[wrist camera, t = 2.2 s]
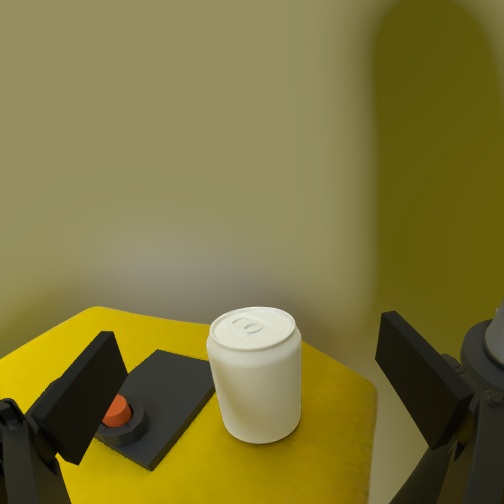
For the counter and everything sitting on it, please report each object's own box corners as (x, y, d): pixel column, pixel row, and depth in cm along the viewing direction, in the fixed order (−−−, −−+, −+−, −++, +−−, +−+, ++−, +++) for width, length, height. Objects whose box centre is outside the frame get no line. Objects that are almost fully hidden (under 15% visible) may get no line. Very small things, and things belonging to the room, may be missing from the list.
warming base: (159, 355, 38) (154, 339, 38) (229, 371, 34) (226, 353, 33) (76, 426, 22) (65, 408, 21) (150, 473, 18) (139, 457, 17)
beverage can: (259, 460, 20) (245, 366, 17) (209, 417, 26) (186, 326, 23) (316, 415, 25) (321, 320, 22) (264, 385, 31) (256, 297, 28)
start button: (115, 401, 24) (110, 390, 24) (138, 412, 23) (132, 400, 23) (95, 419, 21) (88, 407, 21) (117, 432, 20) (110, 421, 19)
